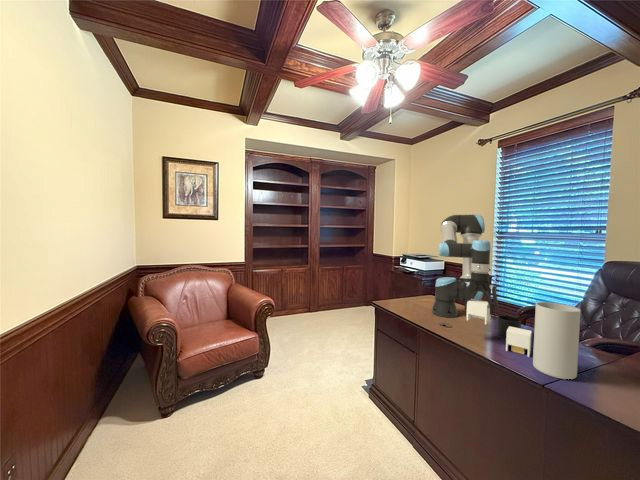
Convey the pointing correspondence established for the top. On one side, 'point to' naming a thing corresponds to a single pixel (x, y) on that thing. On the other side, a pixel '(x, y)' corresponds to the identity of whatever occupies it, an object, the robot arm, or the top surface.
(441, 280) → the robot arm
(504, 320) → the mug
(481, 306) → the cover
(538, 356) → the cylinder vase
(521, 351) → the block
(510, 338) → the cover
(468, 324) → the top surface
